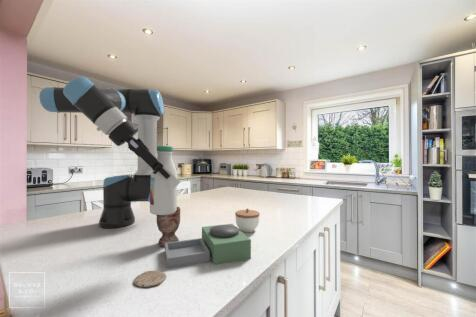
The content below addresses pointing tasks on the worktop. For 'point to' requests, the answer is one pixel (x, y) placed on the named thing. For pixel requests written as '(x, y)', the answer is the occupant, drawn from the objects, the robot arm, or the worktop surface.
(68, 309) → the worktop surface
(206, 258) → the grey square tray
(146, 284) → the flatbread
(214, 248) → the green box with dome
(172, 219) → the mortar and pestle
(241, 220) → the lidded jar
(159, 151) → the milk bottle
